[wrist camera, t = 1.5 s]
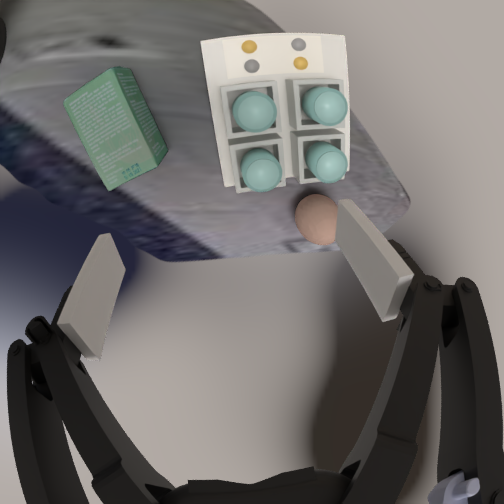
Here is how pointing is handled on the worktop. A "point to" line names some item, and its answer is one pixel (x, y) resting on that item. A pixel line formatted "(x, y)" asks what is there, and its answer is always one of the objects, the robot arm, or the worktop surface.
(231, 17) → the worktop surface
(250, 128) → the button
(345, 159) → the button
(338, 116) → the button
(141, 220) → the worktop surface
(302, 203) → the egg
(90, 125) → the box
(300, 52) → the board
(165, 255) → the worktop surface
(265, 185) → the button
